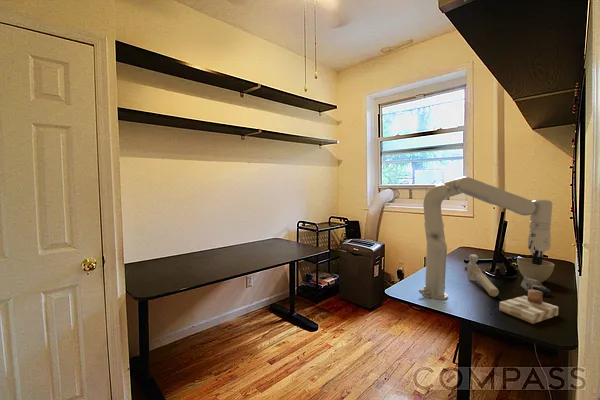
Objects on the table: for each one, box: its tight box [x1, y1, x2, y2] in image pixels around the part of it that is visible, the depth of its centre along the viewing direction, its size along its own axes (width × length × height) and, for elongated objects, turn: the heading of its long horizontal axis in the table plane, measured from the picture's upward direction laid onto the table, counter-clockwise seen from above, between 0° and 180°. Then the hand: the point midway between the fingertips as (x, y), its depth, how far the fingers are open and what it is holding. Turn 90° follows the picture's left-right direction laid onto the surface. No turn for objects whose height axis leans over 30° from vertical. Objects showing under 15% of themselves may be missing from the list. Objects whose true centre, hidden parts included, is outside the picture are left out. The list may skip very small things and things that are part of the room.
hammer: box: [466, 253, 500, 298], centre depth 165 cm, size 16×5×30 cm
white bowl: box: [516, 257, 555, 283], centre depth 178 cm, size 18×18×12 cm
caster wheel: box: [520, 276, 551, 297], centre depth 159 cm, size 7×11×10 cm
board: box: [498, 295, 559, 324], centre depth 133 cm, size 20×14×4 cm
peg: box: [527, 289, 544, 305], centre depth 135 cm, size 6×6×9 cm
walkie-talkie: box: [464, 264, 487, 276], centre depth 196 cm, size 9×4×20 cm
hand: (536, 264), depth 134 cm, fingers closed
